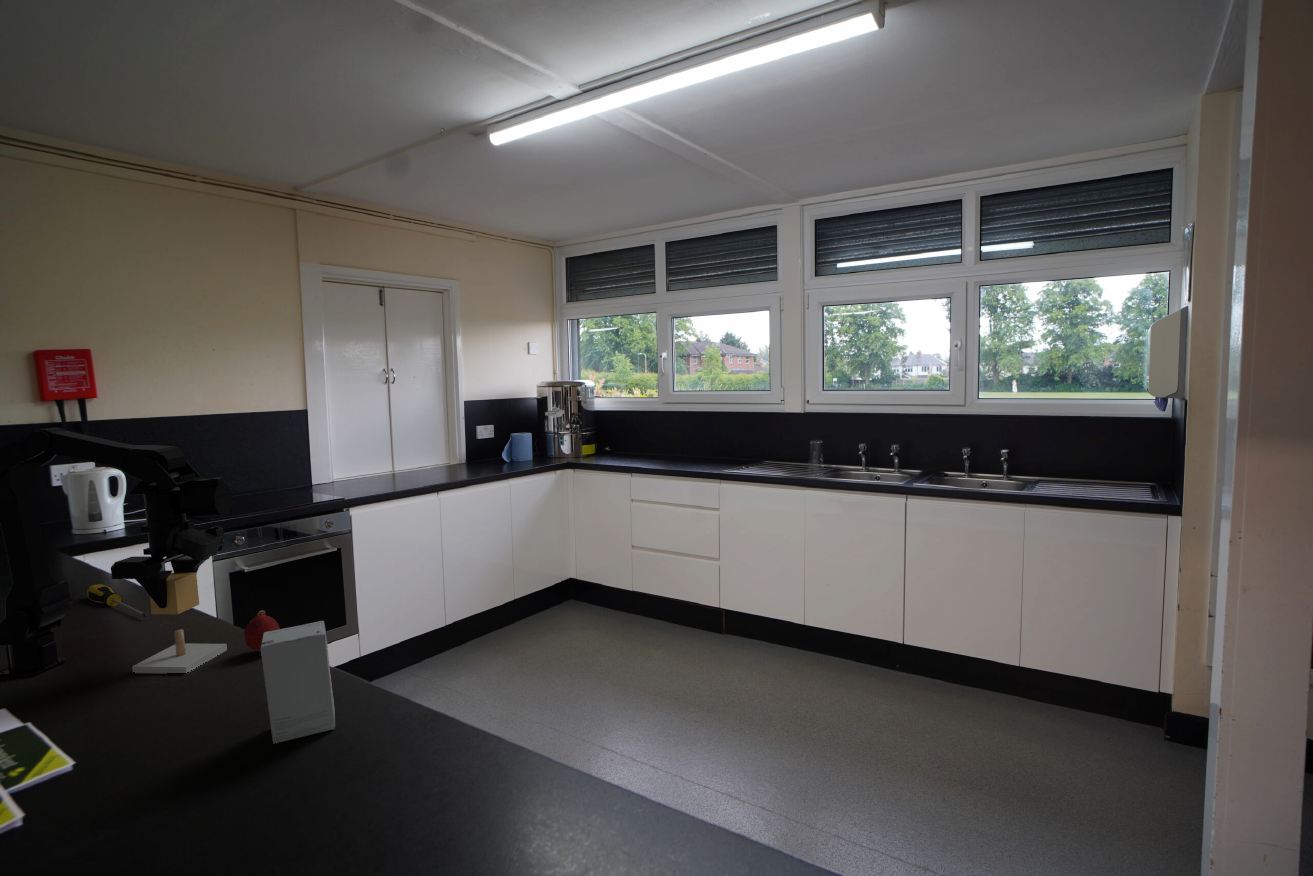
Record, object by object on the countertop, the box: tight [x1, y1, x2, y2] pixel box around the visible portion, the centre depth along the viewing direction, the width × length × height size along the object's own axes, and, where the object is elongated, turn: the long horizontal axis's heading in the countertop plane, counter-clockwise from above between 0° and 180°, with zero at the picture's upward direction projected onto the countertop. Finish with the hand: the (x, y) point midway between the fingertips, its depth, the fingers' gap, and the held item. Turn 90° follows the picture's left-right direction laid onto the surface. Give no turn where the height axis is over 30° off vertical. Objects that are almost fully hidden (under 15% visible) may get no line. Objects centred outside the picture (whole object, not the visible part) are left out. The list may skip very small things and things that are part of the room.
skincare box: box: [260, 620, 336, 745], centre depth 98 cm, size 8×6×15 cm
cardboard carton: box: [149, 572, 200, 615], centre depth 122 cm, size 5×5×6 cm
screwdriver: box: [86, 583, 148, 618], centre depth 153 cm, size 3×3×30 cm
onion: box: [243, 610, 281, 653], centre depth 126 cm, size 6×6×8 cm
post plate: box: [131, 629, 228, 674], centre depth 123 cm, size 10×10×6 cm
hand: (174, 602), depth 122 cm, fingers closed on cardboard carton, 5 cm apart
